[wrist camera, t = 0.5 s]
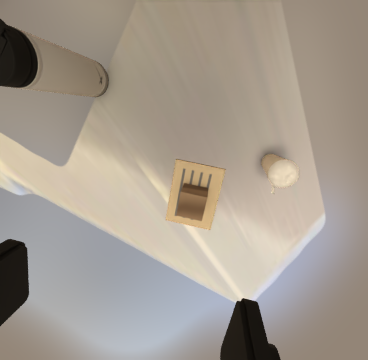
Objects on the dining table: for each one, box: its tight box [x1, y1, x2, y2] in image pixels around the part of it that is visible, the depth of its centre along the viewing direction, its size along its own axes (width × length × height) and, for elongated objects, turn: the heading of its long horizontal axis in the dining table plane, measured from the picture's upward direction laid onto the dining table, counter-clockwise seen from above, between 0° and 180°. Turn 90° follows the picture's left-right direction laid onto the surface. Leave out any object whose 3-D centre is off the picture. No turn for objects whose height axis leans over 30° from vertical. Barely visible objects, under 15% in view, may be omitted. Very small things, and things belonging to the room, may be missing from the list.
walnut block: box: [176, 183, 208, 221], centre depth 41 cm, size 5×5×5 cm
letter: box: [166, 159, 225, 230], centre depth 44 cm, size 14×10×1 cm
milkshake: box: [261, 154, 299, 194], centre depth 35 cm, size 4×5×10 cm
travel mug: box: [0, 19, 108, 97], centre depth 30 cm, size 6×7×20 cm
